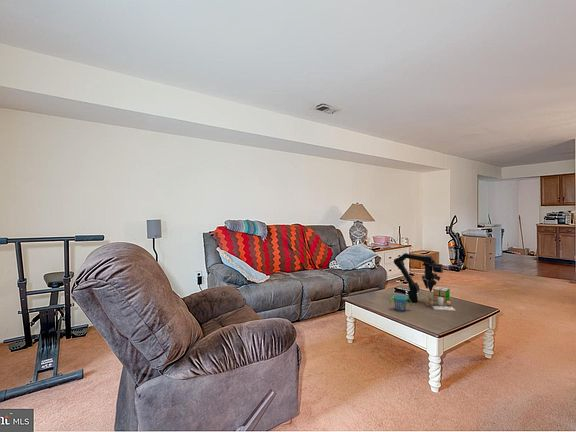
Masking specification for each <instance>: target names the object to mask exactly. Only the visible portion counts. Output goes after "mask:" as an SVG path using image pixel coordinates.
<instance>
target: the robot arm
mask: <svg viewBox="0 0 576 432" xmlns="http://www.w3.org/2000/svg"><path fill="white" fill-rule="evenodd" d="M406 259H409V260H413V261H414V260H415V261H420V262H422V263H421V266H423V267H424V272H423V273H424V275H421V280H422V283H423V284H424V286H425V289H426V290H427V289H428V291H429V292H431V293H432V291H433V289H434V288H433V287H434V286H436V285H437V281H438V282H439V281H440V279H441V278H442V277H441V276H439V275H438V274H437V273H440V274H442V273H444V266H443V264H442V263H436V261H435V259H434V257H433V256H432V255H419V254H413V253H412V254H411V253H408V252H407V253H406V252H405V253H403V254H402V255H400V256H399V257H397V258H394V259H393V264H394V265H395V266H396V267H397V268H398V269H399V271H400V272H401V274H402V276H403V278H405V280H406V282H407V285H408V289H409V290H408V291H407V292H406V293H407V297H408V298H409V299H410V300H411V303H418V294H417V293H418V292H420V285H419V284H418V282H415V281H414V280H413V278H412V276H411V275H410V273H409V272H408V269H407V268H406V267H405V262H404V261H405V260H406ZM409 299H408V300H407V302H408V303H410V300H409Z"/></svg>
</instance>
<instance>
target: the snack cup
mask: <svg viewBox="0 0 576 432" xmlns="http://www.w3.org/2000/svg"><path fill="white" fill-rule="evenodd" d="M408 299H409V298H408V296H406V295H403V294H395V295H393V296H392V297H391V298H390V299H389V304H390V305H392V300H393V302H394V309H395V310H396V311H399V312H402V311H404V312H405V311H406V309H407V303H408ZM409 300H410V299H409ZM409 307H412V302H411V300H410V302H409Z"/></svg>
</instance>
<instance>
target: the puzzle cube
mask: <svg viewBox="0 0 576 432" xmlns="http://www.w3.org/2000/svg"><path fill="white" fill-rule="evenodd" d="M432 291H433V292H432V293H433V295H432V298H433V301H435V302H438V297H443V304H444V303H445V304H446V302H447V301H450V300H451V299H450V298H451V297H450V296H451V295H450V292H451V291H450V288H449V287H448V288H447V287H441V286H436V287H434V288H432Z"/></svg>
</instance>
